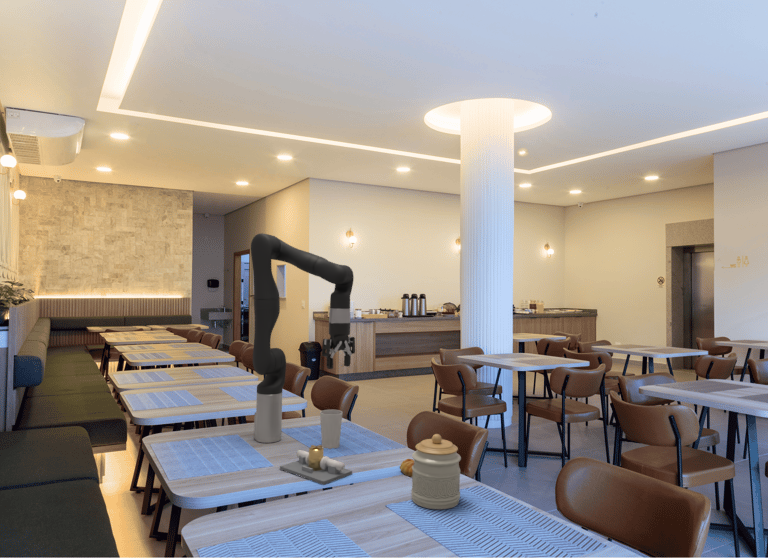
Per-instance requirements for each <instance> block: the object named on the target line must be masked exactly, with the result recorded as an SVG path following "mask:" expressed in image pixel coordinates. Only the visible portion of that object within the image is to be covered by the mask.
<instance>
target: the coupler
mask: <svg viewBox="0 0 768 558" xmlns="http://www.w3.org/2000/svg"><path fill="white" fill-rule="evenodd" d="M324 449H325V448H323V447H322V444H319V445H314V444H312V445H310V447H309V448H308V452H309V467H310V468H313V471H319V470H322V469H321V467H320V461H321V459H322V458H323V457H324Z"/></svg>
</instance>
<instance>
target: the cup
mask: <svg viewBox="0 0 768 558" xmlns="http://www.w3.org/2000/svg"><path fill="white" fill-rule="evenodd" d="M343 414H344V413H343V411H342V410H339V409H324V410H320V412H319V416H320V431H321V445H322V447H323V448H324V449H327V448H328V449H329V450H331V449H332V448H334V449H337V448H340V447H341V445H340V442H341V432H342V431H341V430H342V420H343ZM328 449H327V450H328Z"/></svg>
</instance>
